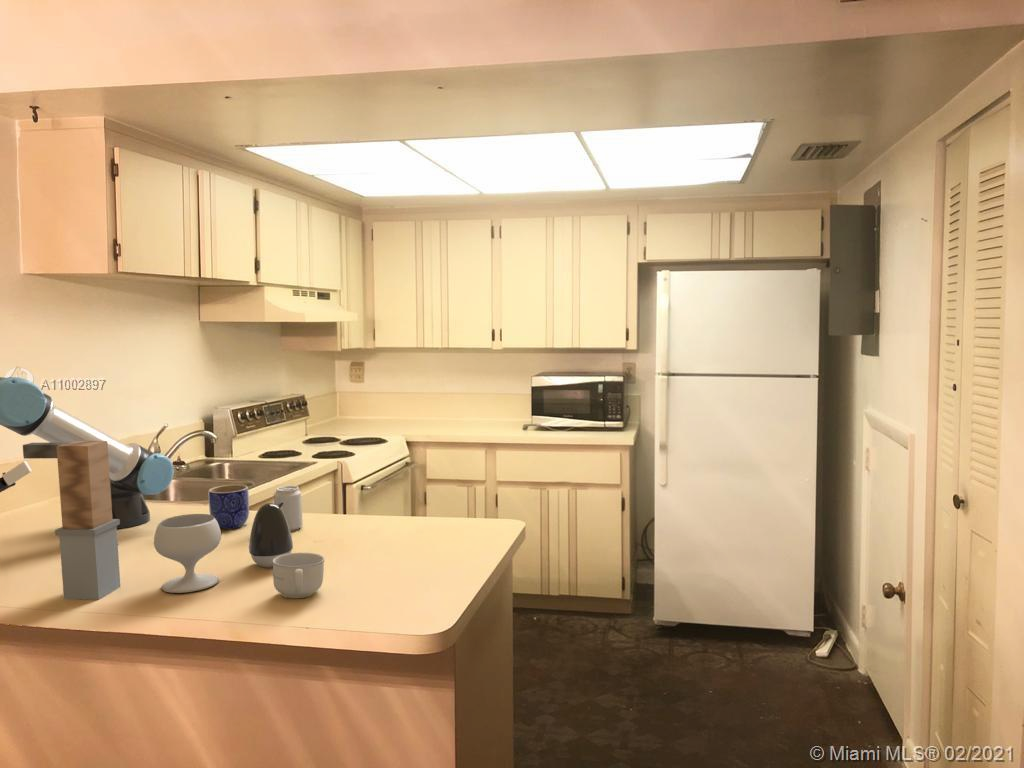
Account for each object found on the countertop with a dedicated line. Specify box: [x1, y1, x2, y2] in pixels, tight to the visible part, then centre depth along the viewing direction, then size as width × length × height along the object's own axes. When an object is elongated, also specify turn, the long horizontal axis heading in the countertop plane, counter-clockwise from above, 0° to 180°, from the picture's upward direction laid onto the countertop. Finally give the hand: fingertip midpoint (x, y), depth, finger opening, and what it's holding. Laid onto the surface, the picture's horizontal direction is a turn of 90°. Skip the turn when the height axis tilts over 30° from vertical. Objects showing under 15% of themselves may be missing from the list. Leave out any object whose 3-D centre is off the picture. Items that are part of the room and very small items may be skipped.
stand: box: [54, 519, 121, 600], centre depth 172 cm, size 9×9×16 cm
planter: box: [207, 484, 250, 530], centre depth 226 cm, size 11×11×11 cm
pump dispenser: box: [248, 502, 294, 568], centre depth 190 cm, size 10×10×15 cm
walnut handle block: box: [22, 441, 113, 529], centre depth 171 cm, size 16×7×18 cm, turn 85°
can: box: [273, 485, 303, 532], centre depth 222 cm, size 8×8×12 cm
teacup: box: [272, 552, 325, 599], centre depth 168 cm, size 14×11×8 cm
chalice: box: [153, 513, 222, 594], centre depth 176 cm, size 14×14×15 cm
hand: (6, 472), depth 172 cm, fingers open, 13 cm apart
